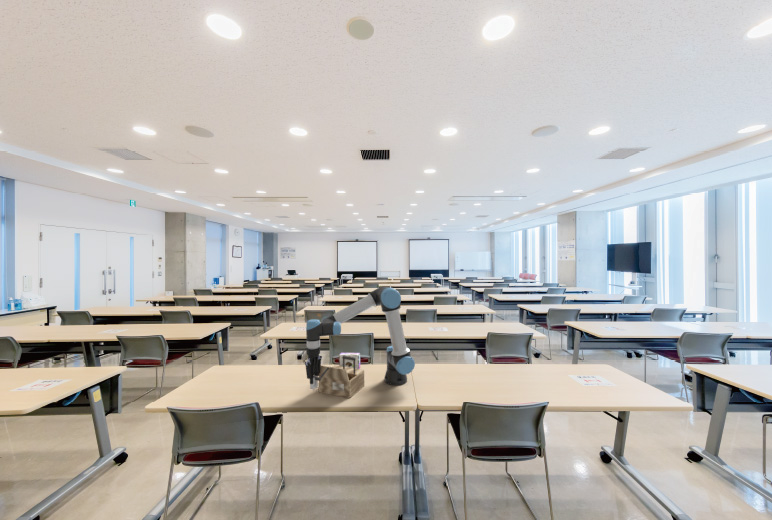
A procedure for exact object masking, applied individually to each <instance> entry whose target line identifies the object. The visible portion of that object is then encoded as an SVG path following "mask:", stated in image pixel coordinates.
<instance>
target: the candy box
mask: <svg viewBox="0 0 772 520" xmlns="http://www.w3.org/2000/svg"><path fill="white" fill-rule="evenodd" d="M343 356H348V357H355V358H356V360H355V368H356V369H361V353H360V352H340V353H339V354H338V364H339V365H338V366H343V359H342V357H343ZM345 367H350V368H354V365H353V360H347V359H345Z"/></svg>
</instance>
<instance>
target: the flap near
mask: <svg viewBox="0 0 772 520" xmlns="http://www.w3.org/2000/svg"><path fill="white" fill-rule="evenodd" d="M319 374H320V375H319V376H318V377H315V376H314V378H315V380H318V382H319V381H321V378H322V377H324V378H330V379H335V380H341V381H346V382H349V378H348V374H347V371H346V369H340V368H334V367H333V366H327V365H322V364H321V369H320V373H319ZM306 379H308V380H310V378H307V377H306Z"/></svg>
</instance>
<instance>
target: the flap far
mask: <svg viewBox="0 0 772 520" xmlns="http://www.w3.org/2000/svg"><path fill="white" fill-rule="evenodd" d="M342 359H343V366H339V365H336V364H335V365H332V367H334V368H340V369H346V371H347V374H350V375H356V376H357V375H359V374H360V373H362V372H363V371H364V372H365V369H362V368H360V369H356V368H355V360H356V358H355V357H348V356H343V357H342ZM345 359H347V360H353V365H354V368H350V367H345Z"/></svg>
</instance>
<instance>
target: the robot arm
mask: <svg viewBox="0 0 772 520" xmlns="http://www.w3.org/2000/svg"><path fill="white" fill-rule="evenodd" d="M401 301H402V296H401V294H400V291H399V290H397V289H395V288H393V287H390V286H386V285H382V286H380V287H377V288H376V289H374V290H373V291H371V292H369V293H368V294H367V296H364V297H363V298H361V299H359V300H357V301H355V302H354V303H351V304H350V305H348V306H346V307H345V308H343V309H340V310H338V311H337V312H335V313H333V314H332V315H330V316H324V317H323V318H322V319H321V321H320V319H314V318H313V319H309V320H307V321H306V325H305V326H306V327H305V328H306V329H305V331H306V334H305V335H306V355H307V361H304V365H305V373H306V379H307V378H310V379H309V388H310V390H313V391H314V390H315V389H316V388H319V381H318V380H315V378H314V376H315V377H319V375H320V374H319V373H320V369H321V365H322V360H323V359H322V358H323V356H322V355H320V354H321V337H329V336H338V335H341V334H342V325H341V324H343V323H345V322H347V321H349V320H351V319H353V318H354V317H357V316H358V315H360V314H362V313H363V312H365V311H367V310H370V308H372V307H377V306H381V308H380V309H381V312H382V313H384V314H385V318H386V322H387V324H386V325H387V328H388V333H389V337H390V341H391V345H389V346H387V347H386V371H385V373H384V376H383V377H384V378H383V380H384V383H386V384H388V385H391V386H400V385H404V384H406V383H407V382H408V376H407V375H409V374H410V373H412V372H413V370H414V369H415V366H416V362H415V359H414V358H413V357H412V355H411V351H410V350H411V349H410V348H409V347H407V343H406V338H405V334H404V333H405V332H404V327H403V324H402V320H401V319H402V318H401V314H400V310H401Z"/></svg>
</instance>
